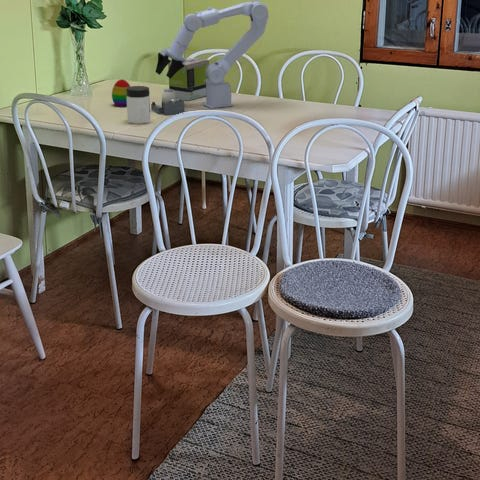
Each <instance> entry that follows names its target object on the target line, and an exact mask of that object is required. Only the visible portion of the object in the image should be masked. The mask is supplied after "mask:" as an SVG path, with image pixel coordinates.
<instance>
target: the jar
mask: <svg viewBox="0 0 480 480" xmlns="http://www.w3.org/2000/svg"><path fill="white" fill-rule="evenodd" d="M130 86H131V85H130ZM150 93H151V92H150V87H148V86H145V85H144V86H143V85H133V86H131V87H127V88H126V95H127V106H126V118H127V119H126V120H127V123H128V124H135V125H140V124H141V125H142V124H148V123H150V121H151V101H150V100H151V99H150Z"/></svg>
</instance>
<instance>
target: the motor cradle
mask: <svg viewBox="0 0 480 480" xmlns="http://www.w3.org/2000/svg"><path fill="white" fill-rule="evenodd" d="M150 111H152V112H155V113H156V114H158V115H161V114H162V115H163V114H164V116H171V114H172V115H178V114H177V113H181V112H186V111H185V101H184V100H178V99H169V101H164V102H162V101H161V105H158V104H156V101H152V102H151V103H150Z"/></svg>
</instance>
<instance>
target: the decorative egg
mask: <svg viewBox="0 0 480 480" xmlns="http://www.w3.org/2000/svg"><path fill="white" fill-rule="evenodd" d="M127 87H131V85H130V83H129V82H128V81H126V80H125V79H118V80H117V81H116V82H115V83H114V85H113V87H112V90H111V98H112V102H113V103H114V105H115V106H116V107H127V95H126V88H127Z"/></svg>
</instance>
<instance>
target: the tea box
mask: <svg viewBox="0 0 480 480" xmlns="http://www.w3.org/2000/svg"><path fill="white" fill-rule="evenodd" d="M185 59H186V61H185V63H182V64H184V65H185V66H184V67H183V68H182V69H180V70H179V71H178V72H177V73H176V74H175V75H174V76H173V77H172V78H171V79H170V78H169V77H168V87H169V88H168V89H173V90H174V91H175V99H177V100H178V99H179V100H183V101H184V102H185V101H187V102H189V101H192V100H195V99H199V98H203V97H206V81H207V80H208V76H207V74H206V69H207V67H208V66H209V65H210V59H203V58H197V57H189V58H185ZM170 65H171V62H170V63H169V64H168V65H167V67H168V69H167V71H168V70H169V68H170Z"/></svg>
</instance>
